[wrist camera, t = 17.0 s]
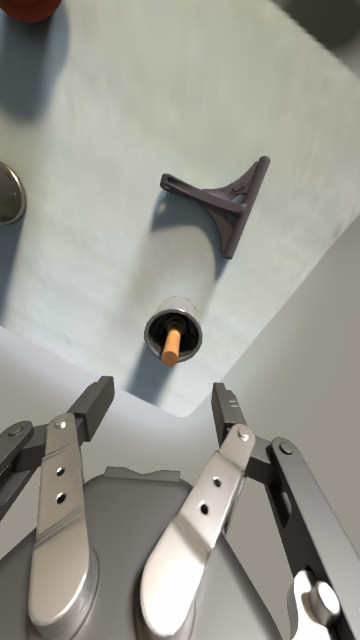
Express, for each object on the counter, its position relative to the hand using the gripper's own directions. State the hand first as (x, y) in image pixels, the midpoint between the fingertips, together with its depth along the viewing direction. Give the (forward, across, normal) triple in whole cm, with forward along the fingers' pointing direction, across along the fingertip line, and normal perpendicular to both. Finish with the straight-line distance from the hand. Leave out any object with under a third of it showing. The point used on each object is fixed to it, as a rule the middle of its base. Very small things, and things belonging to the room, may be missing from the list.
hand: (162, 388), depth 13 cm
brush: (+20, 0, 0) cm, 20 cm away
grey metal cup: (+21, 0, 0) cm, 21 cm away
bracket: (+21, -4, -20) cm, 30 cm away
